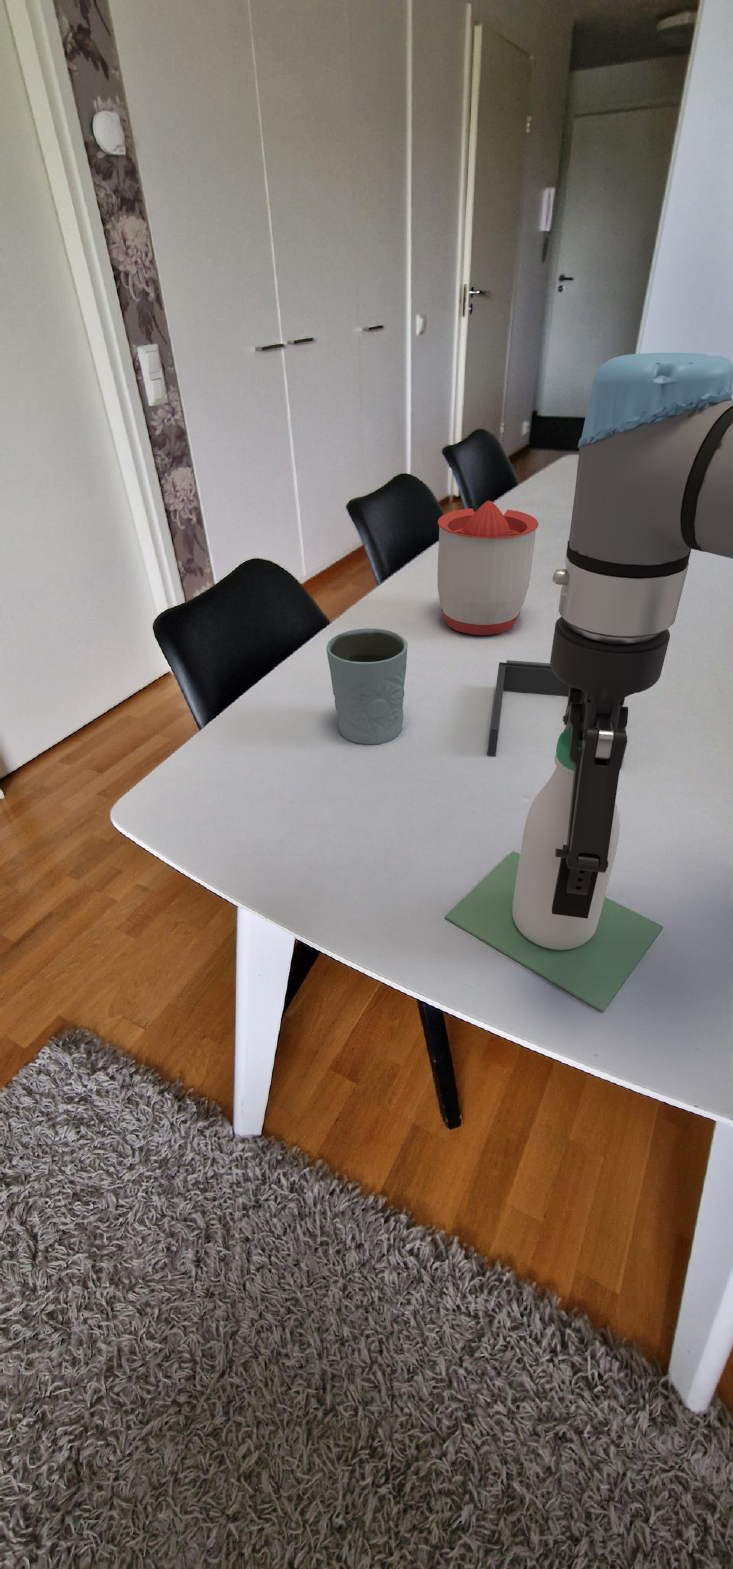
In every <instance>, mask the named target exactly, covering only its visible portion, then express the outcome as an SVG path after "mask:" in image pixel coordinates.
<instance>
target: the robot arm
mask: <svg viewBox="0 0 733 1569" xmlns="http://www.w3.org/2000/svg"><path fill="white" fill-rule="evenodd" d="M590 387H591V388H590V393H589V398H588V402H587V408H586V412H585V418H584V423H583V428H582V433H581V437H580V438H579V440H578V444H577V448H578V458H577V470H576V478H575V487H574V496H573V503H572V504H573V505H572V512H571V520H570V527H569V535H568V540H567V541H566V542H567V547H566V553H565V560H564V565H565V568H562V569H555V570H554V571H553V573H552V582H553V583H554V584H555V585H558V586H559V585H561V588H560V589H561V590H560V594H559V603H558V613H559V616H560V617H559V618H558V619H557V620H556V622H555V624H554V632H553V637H552V645H551V652H550V659H549V663H550V666H551V669H552V671H553V673H554V674H555V676H556V677H557V678H558V679H559V680H561V681H562V682H563V683H565V684H567V685H568V686H570V688H569V694H568V696H567V703H566V704H567V705H566V708H565V713H564V715H563V716H562V722H563V726H565V728H564V729H563V731H565V730H567V729H569V728H571V735H570V745H569V755H568V758H569V761H570V762H571V763H572V764H574V777H573V787H572V797H571V807H570V817H569V827H568V837H567V845H563V849H557V848H556V849H555V857H561V860H560V865H559V871H558V876H557V882H556V887H555V893H554V898H553V903H552V914H556V915H564V916H571V917H579V918H586V919H588V915H589V911H590V906H591V902H592V898H593V893H594V889H595V885H596V880H597V876H598V872H602V873H605V871H606V870H607V868H608V861H607V859H608V852H609V845H610V837H611V830H612V823H613V815H614V808H615V802H617V801H616V800H617V794H618V793H617V792H618V785H619V779H620V778H619V777H620V770H621V769H620V765H621V760H622V755H623V750H624V745H625V743H626V742H627V743H628V735H627V731H625V730H624V729H626V728H627V725H628V718H629V707H628V706H624V704H625V701H626V700H625V699H626V698H627V697H629V696H631V695H634V694H639V693H642V692H644V691H647V690H649V689H651V688H652V687H653V686H655V685H656V684H657V683H658V682H659V680H660V678H661V675H662V671H663V667H664V662H665V660H666V656H667V651H668V647H669V642H670V639H671V633H670V631H669V629H670V627H672V626H673V625H674V624H675V622H676V617H677V614H678V609H679V607H680V606H679V605H680V602H681V598H682V593H683V589H684V587H685V586H684V585H685V580H686V577H687V573H688V570H689V565H690V562H689V561H690V557H691V553H692V550H694V551H699V552H702V553H708V554H712V555H717V556H720V557H725V558H728V559H732V560H733V362H732V361H731V360H730V359H729V358H727V357H724V356H721V355H710V354H709V355H708V354H706V353H697V352H643V353H631V354H630V353H629V354H623V355H618V356H615V357H612V358H610V359H609V360H607V361H605V362H604V363H603V364H602V365H601V366H599V368H598V369H597V371H596V372H595V374H594V377H593V379H592V382H591V386H590ZM578 747H582V752H581V751H579V749H578Z"/></svg>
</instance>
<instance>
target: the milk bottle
mask: <svg viewBox="0 0 733 1569" xmlns="http://www.w3.org/2000/svg"><path fill="white" fill-rule="evenodd" d="M564 730H565V729H564ZM564 730H563V731H562V732H561V733H560V735H559V737H558V739H557V742H556V748H555V755H554V763H555V765H556V766H555V769H554V771H553V772H552V774H551V776H550V778H549V780H548V781H547V782H546V783H545V784H544V786H543V787H542V788H541V789H540V790H539V792H538V793H537V794H536V796H535V797H534V799H533V801H532V802H531V805H530V807H529V809H528V812H527V816H526V819H525V824H524V828H523V834H522V840H521V847H520V852H519V854H520V858H519V864H518V871H517V878H516V884H515V891H514V898H513V907H512V916H513V919H514V922H515V924H516V926H517V927H518V929H519V931H520V932H521V933H522V934H523V935H524V936H525V937H526V938H528V939H529V940H530V941H532V942H534V943H535V944H537V945H540V946H542V947H545V948H550V949H555V950H567V949H573V948H577V947H579V946H581V945H583V944H584V943H585V942H587V941H588V940H589V939H590V938H591V937H592V936H593V935H594V933H595V931H596V928H597V925H598V921H599V918H600V914H601V910H602V906H603V902H604V898H605V897H606V894H607V890H608V886H609V882H610V878H611V874H612V870H613V866H614V862H615V858H616V853H617V848H618V845H619V844H618V843H619V839H620V829H621V828H620V827H621V824H620V814H619V809H618V806H617V803H616V802H617V801H615V808H614V815H613V823H612V830H611V837H610V845H609V852H608V859H607V861H608V868H607V870H606V871H605V873H602V872H598V876H597V880H596V885H595V889H594V893H593V898H592V902H591V906H590V911H589V915H588V919H586V918H579V917H571V916H564V915H556V914H552V903H553V898H554V893H555V887H556V882H557V876H558V871H559V865H560V860H561V857H555V849H556V848H557V849H563V845H567V837H568V827H569V817H570V807H571V797H572V787H573V777H574V764H572V763H571V762H570V761H569V758H568V755H569V745H570V735H571V728H569V729H567V730H565V731H564ZM578 749H579V751H581V752H582V747H578Z"/></svg>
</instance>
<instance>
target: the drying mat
mask: <svg viewBox="0 0 733 1569" xmlns="http://www.w3.org/2000/svg"><path fill="white" fill-rule="evenodd" d="M519 858H520V852H516V851H514V850H512V852H510V853H509V854H508V855H507V856H506V857H505V858H504V859H503V860H502V861H501V862H500V863H499V864H498V865H497V866H495V868H494V869H493V870H491V872H489V873H488V874H487V875H486V877H484V878H483V879H482V880H481V881H480V882H479V883H478V884H477V885H476V886H474V887H473V889H471V890H470V891H469V892H468V894H467V895H465V896H464V897H463V898H462V899H461V900H460V901H459V902H458V903H457V904H456V905H455V906H454V907H453V908H452V909H450V911H449V912H447V913H446V914H445V915H444V919H445V920H446V921H448V922H450V923H452V924H453V925H455V926H457V927H458V928H460V929H462V930H463V931H465V932H467V933H469V934H470V935H471V936H473V937H475V938H477V939H478V940H480V941H482V942H483V943H485V944H486V945H488V946H490V947H492V948H493V949H495V950H497V951H498V952H500V953H502V954H503V955H505V956H507V957H508V958H510V959H512V960H514V961H515V962H517V963H518V964H520V965H522V966H524V967H525V968H526V969H528V970H530V971H532V972H533V973H535V974H537V975H538V976H540V977H542V978H543V979H545V980H547V981H548V982H550V983H552V984H553V985H555V986H556V987H558V988H560V989H562V990H563V991H565V992H567V993H568V994H570V995H571V996H573V997H575V998H577V1000H580V1001H582V1002H583V1003H585V1004H586V1005H588V1006H590V1007H592V1008H593V1009H594V1010H596V1011H598V1012H600V1013H602V1014H603V1013H604V1012H605V1010H606V1009H607V1007H608V1006H609V1004H610V1003H611V1002H612V1000H613V999H614V997H615V996H616V995H617V994H618V992H619V990H620V989H621V988H622V986H623V985H624V984H625V982H626V981H627V980H628V978H629V976H630V975H631V973H633V971H634V970H635V968H636V966H637V965H638V964H639V962H640V961H641V960H642V958H643V957H644V955H645V954H646V953H647V951H648V950H649V948H650V947H651V945H652V944H653V943H654V941H655V940H656V939H657V937H658V936H659V935H660V933H661V932H662V930H663V928H664V926H663V925H661V924H660V923H658V922H656V921H654V920H652V919H650V918H648V917H646V916H643V915H642V914H640V913H638V912H636V911H634V910H631V909H630V908H628V907H626V906H624V905H622V904H620V903H618V902H616V901H614V900H612V899H610V898H608V897H606V896H605V898H604V902H603V906H602V910H601V914H600V918H599V921H598V925H597V928H596V931H595V933H594V935H593V936H592V937H591V938H590V939H589V940H588V941H587V942H585V943H584V944H583V945H581V946H579V947H577V948H573V949H567V950H555V949H550V948H545V947H542V946H540V945H537V944H535V943H534V942H532V941H530V940H529V939H528V938H526V937H525V936H524V935H523V934H522V933H521V932H520V931H519V929H518V927H517V926H516V924H515V922H514V919H513V916H512V907H513V898H514V891H515V884H516V878H517V871H518V864H519Z"/></svg>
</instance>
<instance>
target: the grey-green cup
mask: <svg viewBox="0 0 733 1569" xmlns="http://www.w3.org/2000/svg"><path fill="white" fill-rule="evenodd" d="M408 647H409V646H408V642H407V640H406V639H405V638H404V636H402V635H401V634H399V633H397V632H395V631H391V630H388V629H382V628H371V627H369V628H367V627H366V628H356V629H350V630H347V631H344V632H340V633H338V634H336V635H335V636H333V637H331V638H330V640H329V641H328V642H327V644H326V655H327V661H328V668H329V672H330V680H331V687H332V693H333V696H334V706H335V707H334V708H335V712H336V720H337V727H338V732H339V734H340V736H341V737H343V739H344V740H345V739H346V741H349V742H352V743H355V744H360V745H369V746H370V745H380V744H384V743H385V744H386V743H388V742H391V741H392V740H394V739H396V738H397V737H398V736H399V735H401V734H400V733H401V732H402V730H403V723H404V698H405V682H406V673H407V662H408V661H407V659H408Z"/></svg>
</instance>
